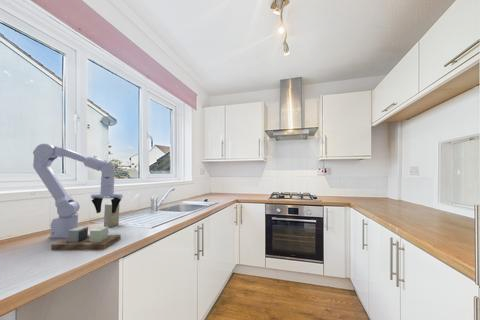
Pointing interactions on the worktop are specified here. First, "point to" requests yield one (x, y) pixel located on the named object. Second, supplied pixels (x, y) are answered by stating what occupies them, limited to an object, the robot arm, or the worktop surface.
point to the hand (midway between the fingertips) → (106, 212)
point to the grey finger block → (77, 234)
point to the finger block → (99, 234)
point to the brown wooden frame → (86, 244)
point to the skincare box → (111, 216)
